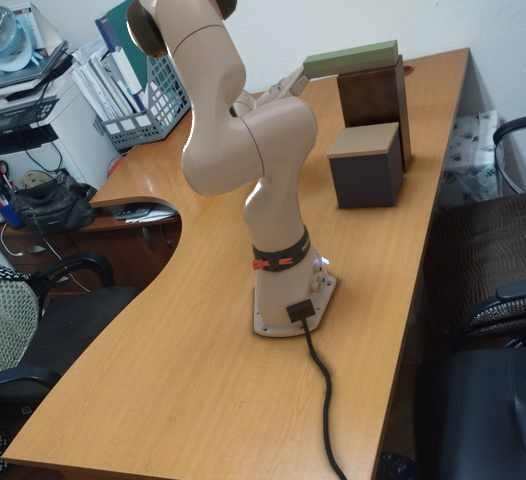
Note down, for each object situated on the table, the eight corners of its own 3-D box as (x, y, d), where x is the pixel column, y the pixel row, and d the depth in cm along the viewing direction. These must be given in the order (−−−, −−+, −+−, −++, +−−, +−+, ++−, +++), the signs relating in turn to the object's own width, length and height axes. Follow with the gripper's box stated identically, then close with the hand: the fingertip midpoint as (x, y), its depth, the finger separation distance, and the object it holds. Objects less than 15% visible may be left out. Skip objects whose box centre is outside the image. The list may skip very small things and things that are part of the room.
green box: (306, 79, 127) (302, 63, 124) (311, 72, 129) (307, 56, 126) (395, 65, 117) (393, 46, 114) (398, 57, 119) (397, 39, 116)
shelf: (354, 176, 140) (336, 78, 122) (361, 160, 144) (345, 64, 126) (405, 172, 133) (395, 68, 115) (411, 156, 138) (402, 54, 120)
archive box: (338, 208, 131) (326, 154, 121) (350, 181, 138) (340, 128, 128) (394, 206, 125) (386, 149, 114) (404, 178, 132) (398, 122, 121)
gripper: (254, 113, 129) (291, 77, 119) (282, 77, 141) (317, 42, 130) (272, 132, 131) (309, 99, 121) (297, 96, 143) (333, 62, 133)
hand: (313, 69), depth 126 cm, fingers open, 8 cm apart
